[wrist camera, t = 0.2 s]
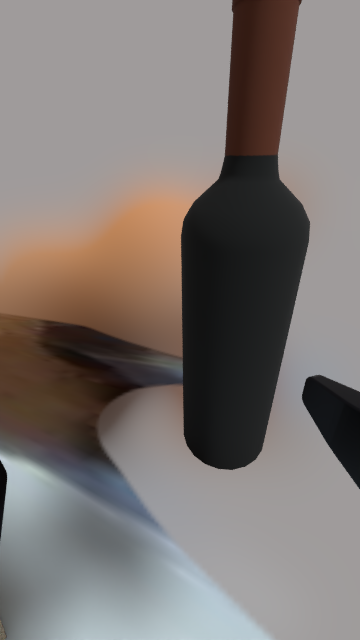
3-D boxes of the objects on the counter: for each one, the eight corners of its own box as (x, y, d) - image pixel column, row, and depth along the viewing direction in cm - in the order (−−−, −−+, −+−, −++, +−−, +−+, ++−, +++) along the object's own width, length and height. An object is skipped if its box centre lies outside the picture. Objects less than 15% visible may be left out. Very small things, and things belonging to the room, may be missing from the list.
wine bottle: (187, 473, 24) (187, -134, 8) (180, 403, 30) (172, -8, 14) (276, 465, 24) (442, -123, 8) (250, 398, 30) (316, -6, 15)
